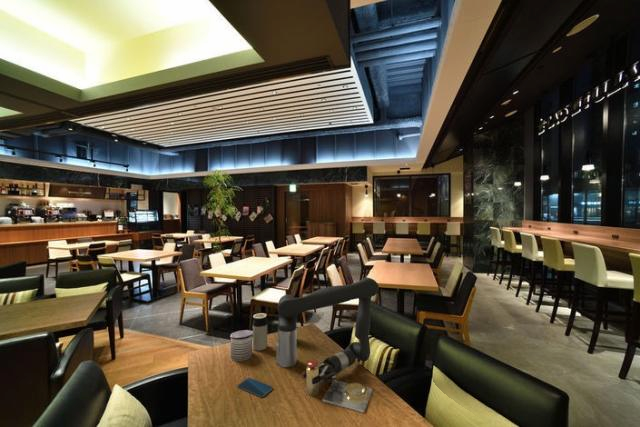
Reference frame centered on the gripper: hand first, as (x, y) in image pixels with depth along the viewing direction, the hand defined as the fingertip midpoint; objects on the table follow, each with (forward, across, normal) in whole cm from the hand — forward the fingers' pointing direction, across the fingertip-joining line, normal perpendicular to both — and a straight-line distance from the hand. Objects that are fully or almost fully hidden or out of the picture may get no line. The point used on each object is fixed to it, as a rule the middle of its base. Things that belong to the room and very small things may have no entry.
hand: (308, 378), depth 114 cm
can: (+5, -48, +7) cm, 49 cm away
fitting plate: (-11, +12, +6) cm, 18 cm away
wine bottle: (-23, -46, +7) cm, 52 cm away
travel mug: (-6, -49, +7) cm, 50 cm away
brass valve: (-3, 0, +6) cm, 7 cm away
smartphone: (+14, -19, +7) cm, 25 cm away
